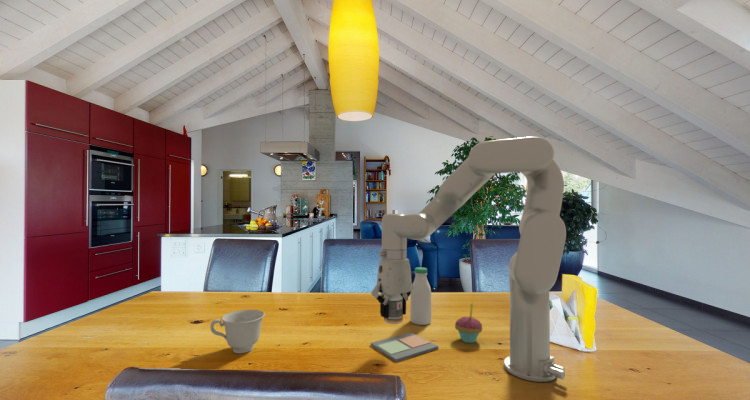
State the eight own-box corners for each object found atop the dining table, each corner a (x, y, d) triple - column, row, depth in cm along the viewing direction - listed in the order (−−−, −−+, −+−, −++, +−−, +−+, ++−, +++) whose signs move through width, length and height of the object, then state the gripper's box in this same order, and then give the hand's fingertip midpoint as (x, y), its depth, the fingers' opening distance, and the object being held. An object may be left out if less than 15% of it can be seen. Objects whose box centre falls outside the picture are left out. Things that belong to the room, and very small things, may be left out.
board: (438, 348, 99) (438, 345, 99) (396, 362, 90) (396, 358, 90) (410, 334, 110) (410, 331, 110) (370, 345, 101) (370, 342, 101)
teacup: (211, 346, 100) (211, 313, 100) (262, 338, 106) (263, 307, 106) (208, 363, 89) (209, 326, 89) (266, 354, 95) (266, 319, 95)
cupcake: (464, 332, 112) (464, 297, 112) (487, 340, 106) (487, 302, 106) (450, 339, 106) (450, 302, 106) (474, 348, 100) (474, 308, 100)
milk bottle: (432, 325, 118) (432, 270, 119) (411, 325, 119) (411, 269, 119) (429, 318, 126) (429, 266, 127) (409, 318, 126) (409, 266, 127)
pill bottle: (406, 321, 98) (406, 288, 99) (394, 326, 94) (394, 291, 94) (392, 316, 102) (392, 284, 103) (379, 321, 98) (380, 287, 98)
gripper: (377, 258, 91) (376, 324, 90) (424, 254, 100) (423, 313, 100) (363, 255, 97) (362, 316, 97) (408, 251, 107) (407, 307, 106)
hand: (393, 314), depth 98 cm, fingers closed on pill bottle, 5 cm apart
